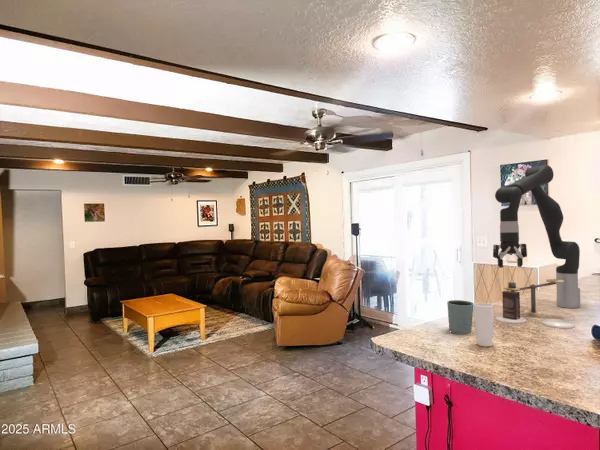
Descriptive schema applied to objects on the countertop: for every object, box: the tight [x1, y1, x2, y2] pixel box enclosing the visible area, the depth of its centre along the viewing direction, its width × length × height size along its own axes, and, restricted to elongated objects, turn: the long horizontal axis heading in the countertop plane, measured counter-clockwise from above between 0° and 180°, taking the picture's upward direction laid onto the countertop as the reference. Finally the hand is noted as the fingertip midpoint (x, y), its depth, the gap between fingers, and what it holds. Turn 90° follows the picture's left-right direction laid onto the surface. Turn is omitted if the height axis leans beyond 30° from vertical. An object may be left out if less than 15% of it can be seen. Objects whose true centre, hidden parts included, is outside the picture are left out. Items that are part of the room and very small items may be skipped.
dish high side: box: [541, 318, 576, 329], centre depth 170 cm, size 12×12×1 cm
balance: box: [503, 278, 564, 319], centre depth 187 cm, size 24×7×17 cm, turn 60°
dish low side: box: [495, 314, 527, 325], centre depth 179 cm, size 12×12×1 cm
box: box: [501, 290, 521, 320], centre depth 179 cm, size 6×4×12 cm
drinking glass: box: [473, 302, 495, 348], centre depth 146 cm, size 7×7×15 cm
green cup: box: [446, 299, 475, 335], centre depth 164 cm, size 10×10×12 cm
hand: (510, 267), depth 180 cm, fingers open, 8 cm apart
